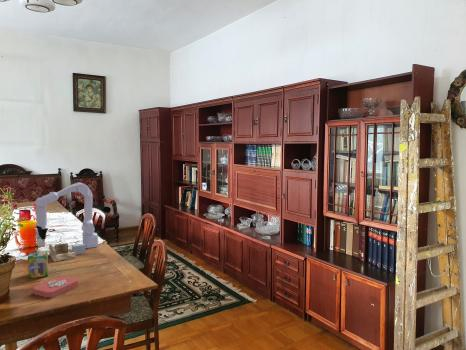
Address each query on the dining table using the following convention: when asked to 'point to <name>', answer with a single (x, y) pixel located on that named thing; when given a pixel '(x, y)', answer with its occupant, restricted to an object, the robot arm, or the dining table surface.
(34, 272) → the chalk box
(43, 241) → the ink box
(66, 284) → the pink flat block
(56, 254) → the birch shelf bay
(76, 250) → the slate boxed book
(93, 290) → the dining table surface
